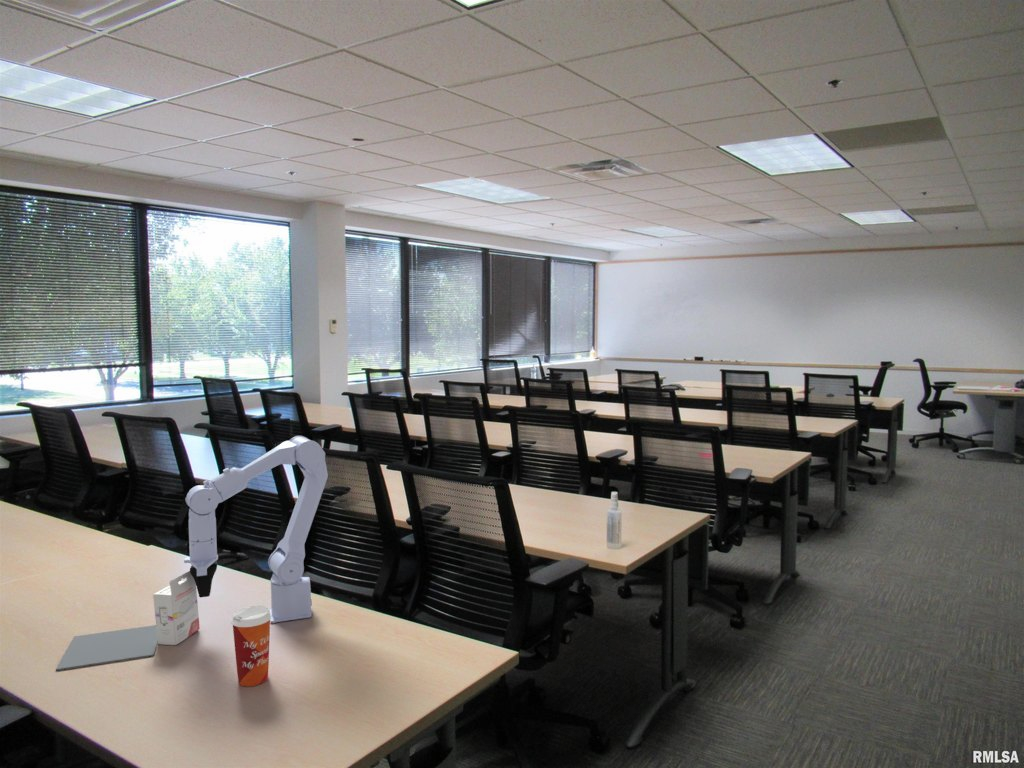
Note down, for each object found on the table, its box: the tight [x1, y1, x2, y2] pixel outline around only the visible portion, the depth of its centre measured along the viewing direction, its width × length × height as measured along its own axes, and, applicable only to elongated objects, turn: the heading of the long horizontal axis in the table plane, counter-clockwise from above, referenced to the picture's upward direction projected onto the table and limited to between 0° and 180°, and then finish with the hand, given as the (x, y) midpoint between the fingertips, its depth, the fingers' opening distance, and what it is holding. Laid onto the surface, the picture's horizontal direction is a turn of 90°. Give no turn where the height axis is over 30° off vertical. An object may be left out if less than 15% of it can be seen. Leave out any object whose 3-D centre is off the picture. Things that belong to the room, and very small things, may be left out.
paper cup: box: [230, 605, 272, 688], centre depth 136 cm, size 8×8×14 cm
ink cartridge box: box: [152, 570, 200, 646], centre depth 155 cm, size 9×5×15 cm, turn 169°
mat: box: [55, 624, 158, 672], centre depth 151 cm, size 18×16×1 cm
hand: (204, 595), depth 157 cm, fingers closed
